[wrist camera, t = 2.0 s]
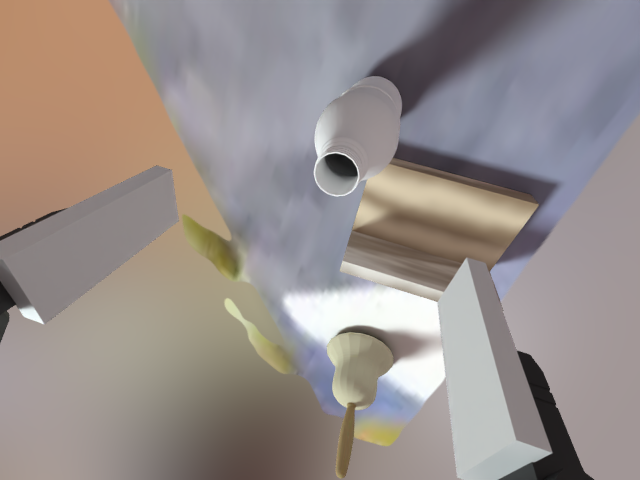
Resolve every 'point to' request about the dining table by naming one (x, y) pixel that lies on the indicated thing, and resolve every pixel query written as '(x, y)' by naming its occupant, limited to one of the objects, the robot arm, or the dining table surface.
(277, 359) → the dining table surface
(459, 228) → the board
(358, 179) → the water bottle
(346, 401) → the handbell
